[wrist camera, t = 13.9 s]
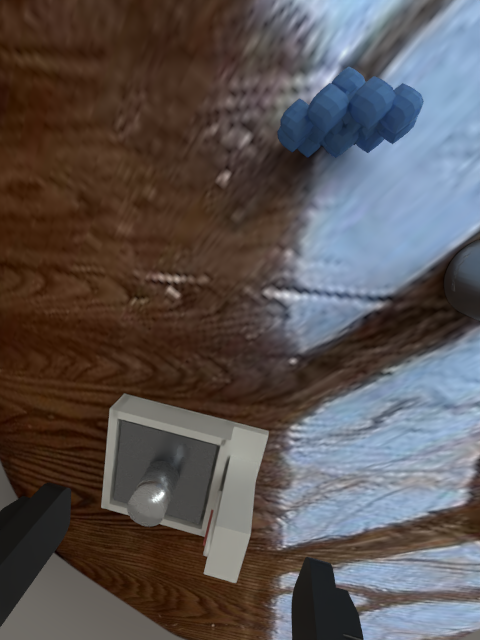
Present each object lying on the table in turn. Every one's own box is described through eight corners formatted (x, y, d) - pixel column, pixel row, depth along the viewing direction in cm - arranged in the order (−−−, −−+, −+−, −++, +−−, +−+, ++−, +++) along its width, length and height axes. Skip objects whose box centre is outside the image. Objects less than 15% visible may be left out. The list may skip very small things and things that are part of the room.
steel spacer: (181, 465, 42) (166, 502, 36) (176, 491, 44) (160, 530, 38) (149, 456, 42) (128, 492, 37) (145, 482, 44) (125, 520, 38)
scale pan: (218, 439, 42) (216, 445, 40) (201, 516, 46) (199, 524, 45) (126, 415, 42) (121, 420, 41) (117, 493, 47) (113, 500, 46)
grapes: (394, 94, 30) (465, 10, 19) (385, 168, 32) (443, 132, 21) (279, 99, 32) (280, 22, 20) (276, 169, 33) (275, 136, 22)
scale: (268, 430, 43) (265, 502, 32) (243, 522, 48) (232, 611, 37) (124, 393, 44) (70, 449, 33) (114, 486, 50) (65, 562, 38)
